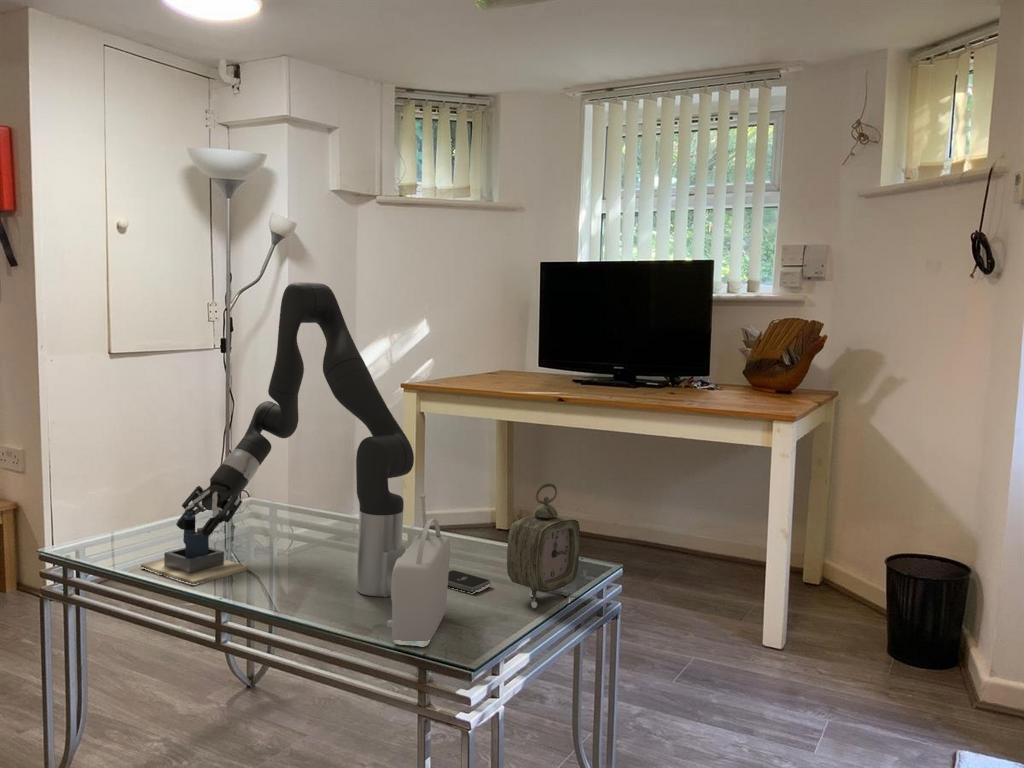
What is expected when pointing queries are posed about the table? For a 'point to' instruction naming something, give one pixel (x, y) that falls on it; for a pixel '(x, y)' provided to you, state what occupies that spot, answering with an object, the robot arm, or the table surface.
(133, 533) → the table surface
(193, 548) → the vaping device
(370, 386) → the robot arm
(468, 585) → the external hard drive
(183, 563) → the square socket
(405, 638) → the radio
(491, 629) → the table surface
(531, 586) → the tabletop clock
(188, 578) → the mounting board
